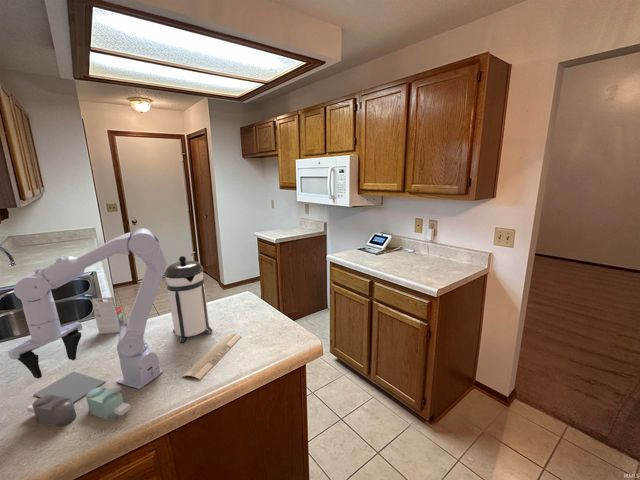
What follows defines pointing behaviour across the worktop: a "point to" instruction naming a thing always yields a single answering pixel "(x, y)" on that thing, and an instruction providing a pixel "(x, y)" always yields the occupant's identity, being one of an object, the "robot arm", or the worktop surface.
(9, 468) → the worktop surface
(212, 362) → the wooden plank
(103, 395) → the teal plug
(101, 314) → the ink box
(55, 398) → the plug
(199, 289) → the coffee press
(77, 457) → the worktop surface
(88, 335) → the worktop surface
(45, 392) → the mat
